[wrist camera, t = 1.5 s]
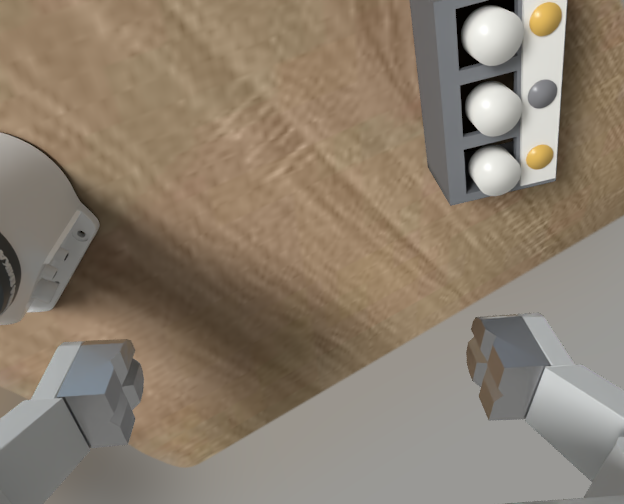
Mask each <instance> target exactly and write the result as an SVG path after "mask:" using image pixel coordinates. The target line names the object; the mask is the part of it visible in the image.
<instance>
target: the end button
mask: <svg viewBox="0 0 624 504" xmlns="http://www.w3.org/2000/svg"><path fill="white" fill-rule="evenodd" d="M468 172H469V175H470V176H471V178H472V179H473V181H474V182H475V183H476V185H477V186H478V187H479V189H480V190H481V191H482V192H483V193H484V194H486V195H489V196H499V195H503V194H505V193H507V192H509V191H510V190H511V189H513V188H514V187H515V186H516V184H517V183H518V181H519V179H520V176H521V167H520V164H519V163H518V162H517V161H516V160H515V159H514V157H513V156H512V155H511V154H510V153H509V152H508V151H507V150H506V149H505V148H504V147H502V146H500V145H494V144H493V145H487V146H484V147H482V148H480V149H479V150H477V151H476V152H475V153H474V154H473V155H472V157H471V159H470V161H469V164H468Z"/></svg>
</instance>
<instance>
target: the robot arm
mask: <svg viewBox="0 0 624 504" xmlns="http://www.w3.org/2000/svg"><path fill="white" fill-rule="evenodd" d="M99 226H100V224H99V221H98V219H97V218H96V217H95V215H94V214H93V213H92V212H91V211H90V210H89V209H88V208H87V207H85V206H84V205H83V204H82V203H81V202H80V200H79V199H78V197H77V195H76V193H75V191H74V189H73V187H72V185H71V184H70V182H69V180H68V179H67V177H66V176H65V174H64V173H63V172H62V171H61V169H60V168H59V167H58V166H57V165H56V164H55V163H54V162H53V161H52V160H51V159H50V158H49V157H47V156H46V155H45V154H44V153H42V152H41V151H40V150H38V149H37V148H35V147H33V146H32V145H30V144H28V143H26V142H24V141H22V140H20V139H18V138H15V137H13V136H10V135H7V134H4V133H0V325H7V324H13V323H17V322H19V321H21V320H22V318H23V317H24V315H25V314H26V312H43V311H49V310H51V309H52V308H53V307H54V306H55V304H56V303H57V302H58V300H59V298H60V296H61V295H62V293H63V291H64V289H65V288H66V286H67V284H68V282H69V281H70V279H71V277H72V275H73V274H74V272H75V270H76V268H77V266H78V265H79V263H80V261H81V259H82V258H83V256H84V254H85V252H86V251H87V249H88V247H89V245H90V243H91V242H92V240H93V238H94V236H95V235H96V233H97V231H98V229H99ZM80 231H83V232H84V233H85V234H83V233H81V232H80ZM471 330H472V332H473V334H474V338H472V339H471V340H470V341H469V342H468V347H467V352H466V353H467V365H468V369H469V373H470V376H471V378H472V381H473V382H475V383H476V384H477V385H479V386H480V387H481V390H480V394H479V398H480V400H481V403H482V405H483V408H484V410H485V412H486V415H487V417H488V420H512V419H526V420H525V421H526V422H527V423H528V424H529V425H530V426H531V427H533V428H534V429H535V430H536V431H537V432H538V433H539V434H540V435H541V436H542V437H543V438H544V439H546V440H547V441H548V442H549V443H550V444H551V445H552V446H553V447H554V448H555V449H556V450H558V451H559V452H560V453H561V454H562V455H563V456H564V457H565V458H566V459H567V460H569V461H570V462H571V463H572V464H573V465H574V466H575V467H576V468H577V469H578V470H579V471H581V472H582V473H583V474H584V475H585V476H586V477H587V478H588V479H589V480H590V481H592V484H591V486H590V487H589V489H588V491H587V493H586V494H585V496H584V498H578V499H563V500H550V501H535V502H522V503H507V504H624V390H623V389H622V388H620V387H618V386H617V385H615V384H613V383H612V382H610V381H608V380H607V379H605V378H604V377H602V376H600V375H598V374H597V373H595V372H594V371H592V370H591V369H589V368H587V367H586V366H584V365H582V364H575V363H574V361H573V360H572V358H571V357H570V355H569V354H568V352H567V351H566V349H565V348H564V346H563V345H562V343H561V341H560V340H559V338H558V337H557V336H556V334H555V333H554V331H553V329H552V328H551V327H550V325H549V323H548V322H547V320H546V319H545V317H544V316H543V315H542V314H540V313H528V314H518V315H515V314H514V315H500V316H487V317H476V318H475V319H474V321H473V324H472V328H471ZM134 352H135V349H134V346H133V344H132V342H131V340H128V339H123V340H96V341H82V342H63V343H62V344H61V345H60V346H58V348H57V350H56V352H55V354H54V355H53V357H52V359H51V361H50V363H49V365H48V367H47V369H46V371H45V373H44V375H43V377H42V379H41V381H40V383H39V384H38V386H37V388H36V390H35V392H34V394H33V396H32V398H31V400H24V401H23V402H21V403H20V404H19V405H17V406H16V407H15V408H13V409H12V410H11V411H10V412H8V413H7V414H6V415H5V416H3V417H2V418H1V419H0V504H44V503H45V501H46V500H47V499H48V498H49V497H50V496H51V495H52V493H53V492H54V491H55V490H56V489H57V488H58V486H59V485H60V484H61V483H62V482H63V481H64V480H65V479H66V477H67V476H68V475H69V474H70V473H71V472H72V471H73V470H74V468H75V467H76V466H77V465H78V464H79V463H80V462H81V460H82V459H83V458H84V457H85V456H86V455H87V454H88V452H89V451H90V448H96V447H107V446H118V445H128V442H129V439H130V435H131V432H132V429H133V425H134V422H135V417H134V414H133V412H132V410H133V409H134V408H135V407H136V406H137V405H138V404H139V403H140V401H141V397H142V393H143V383H144V378H143V371H142V368H141V365H140V363H139V362H138V361H136V360H135V359H133V355H134Z"/></svg>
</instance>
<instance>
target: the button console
mask: <svg viewBox="0 0 624 504" xmlns="http://www.w3.org/2000/svg"><path fill="white" fill-rule="evenodd" d="M483 1H487V0H410V8H411V17H412V26H413V35H414V44H415V53H416V62H417V71H418V81H419V90H420V99H421V108H422V117H423V126H424V135H425V144H426V153H427V162H428V168H429V170H430V171H431V173H432V175H433V177H434V178H435V180H436V182H437V183H438V185H439V187H440V189H441V190H442V192H443V194H444V196H445V197H446V199H447V201H448V202H449V204H450V206H451V205H455V204H459V203H464V202H468V201H472V200H476V199H481V198H485V197H489V195H486V194H484V193H483V192H482V191H481V190H480V189H479V187H478V186H477V185H476V183H475V182H474V181H473V179H472V178H471V176H470V175H469V172H468V164H469V161H470V159H471V157H472V155H473V154H474V153H475V152H476V151H477V150H475V151H471V152H466V153H464V150H465V149H469V148H473V147H477V146H481V145H485V144H489V143H493V142H497V141H501V140H505V139H509V138H513V141H511V142H507V143H503V144H499V145H500V146H502V147H504V148H505V149H506V150H507V151H508V152H509V153H510V154H511V155H512V156H513V157H514V159H515V160H516V161H517V162H518V163H519V164H520V120H521V117H520V119H519V121H518V122H517V124H516V125H515V126H514V127H513V128H512V129H511V130H510V131H508V132H507V133H505V134H503V135H500V136H495V137H491V136H486V135H484V134H482V133H481V132H480V131H475V132H471V133H466V134H463V128H462V111H461V94H460V85H464V84H467V83H471V82H475V81H479V80H483V79H487V78H491V77H495V76H498V75H502V74H506V73H510V72H514V84H513V92H514V93H515V94H517V95H518V97H519V98H520V100H521V56H522V43H521V46H520V47H519V49H518V51H517V52H516V53H515V55H514V56H513V57H512V58H511V59H509V60H508V61H506V62H505V63H503V64H500V65H496V66H487V65H484V64H482V63H478V64H474V65H471V66H467V67H463V68H459V61H458V44H457V27H456V10H455V9H458V8H461V7H465V6H469V5H472V4H476V3H480V2H483ZM567 4H568V0H567ZM514 14H516V15H517V16H518V17H519V18H520V20H521V21H522V0H514ZM566 19H567V8H566ZM565 34H566V24H565ZM564 49H565V39H564ZM563 64H564V54H563ZM562 79H563V70H562ZM561 95H562V85H561ZM560 110H561V100H560ZM559 125H560V116H559ZM558 140H559V131H558ZM557 155H558V146H557ZM556 170H557V161H556ZM553 181H556V177H555V178H553V179H549V180H545V181H541V182H536V183H532V184H528V185H524V186H520V185H519V184H520V179H519V181H518V183H517V184H516V186H515V187H514V188H513V189H511V190H510V191H509V192H511V191H515V190H519V189H523V188H528V187H532V186H536V185H540V184H545V183H549V182H553Z"/></svg>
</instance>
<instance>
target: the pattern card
mask: <svg viewBox="0 0 624 504" xmlns="http://www.w3.org/2000/svg"><path fill="white" fill-rule="evenodd" d="M566 8H567V0H522V24H523V28H524V35H523V40H522V56H521V102H522V114H521V120H520V167H521V176H520V184H519V185H520V186H524V185H528V184H532V183H536V182H541V181H545V180H549V179H553V178H555V177H556V161H557V146H558V131H559V116H560V100H561V85H562V70H563V54H564V39H565V24H566Z"/></svg>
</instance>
